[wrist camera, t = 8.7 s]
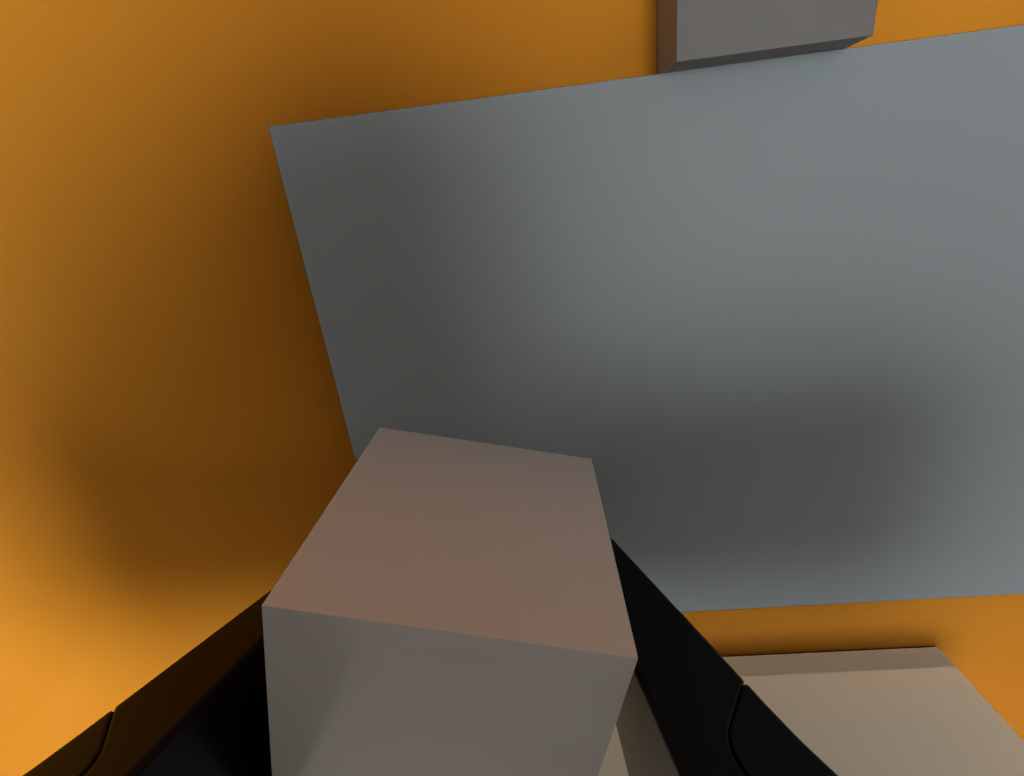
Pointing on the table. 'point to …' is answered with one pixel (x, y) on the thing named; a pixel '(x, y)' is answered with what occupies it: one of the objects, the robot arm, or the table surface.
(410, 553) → the grey cube
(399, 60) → the table surface
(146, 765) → the robot arm
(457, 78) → the table surface
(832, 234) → the lid board
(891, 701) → the tray
